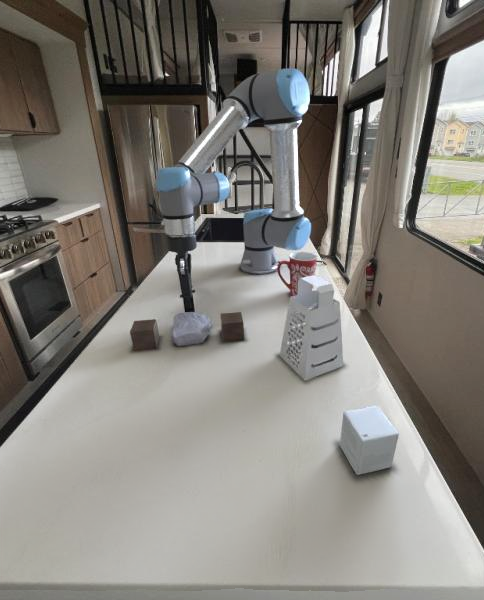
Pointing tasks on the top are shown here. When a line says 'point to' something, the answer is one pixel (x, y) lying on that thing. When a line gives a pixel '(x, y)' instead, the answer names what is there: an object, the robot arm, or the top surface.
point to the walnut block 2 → (232, 326)
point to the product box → (368, 439)
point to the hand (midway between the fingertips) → (190, 315)
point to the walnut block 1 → (144, 334)
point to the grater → (313, 328)
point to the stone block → (190, 328)
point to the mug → (298, 269)
